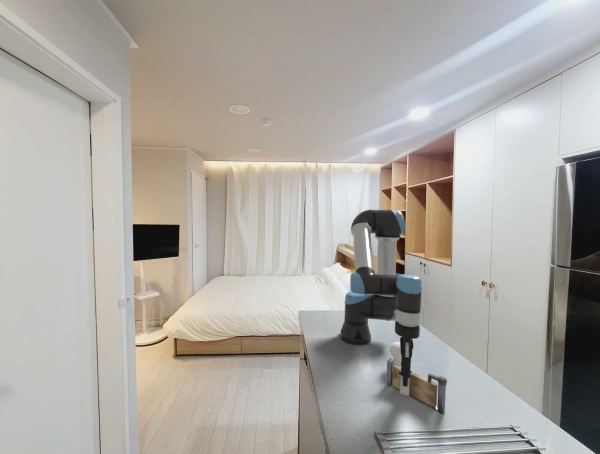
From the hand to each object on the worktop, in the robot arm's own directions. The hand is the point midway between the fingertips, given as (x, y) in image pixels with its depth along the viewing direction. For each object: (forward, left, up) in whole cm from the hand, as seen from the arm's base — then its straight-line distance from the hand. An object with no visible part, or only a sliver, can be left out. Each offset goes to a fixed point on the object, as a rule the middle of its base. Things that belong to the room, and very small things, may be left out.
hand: (404, 393), depth 82 cm
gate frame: (+2, +4, -2) cm, 5 cm away
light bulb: (-9, +15, -2) cm, 18 cm away
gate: (+3, +4, -1) cm, 5 cm away
